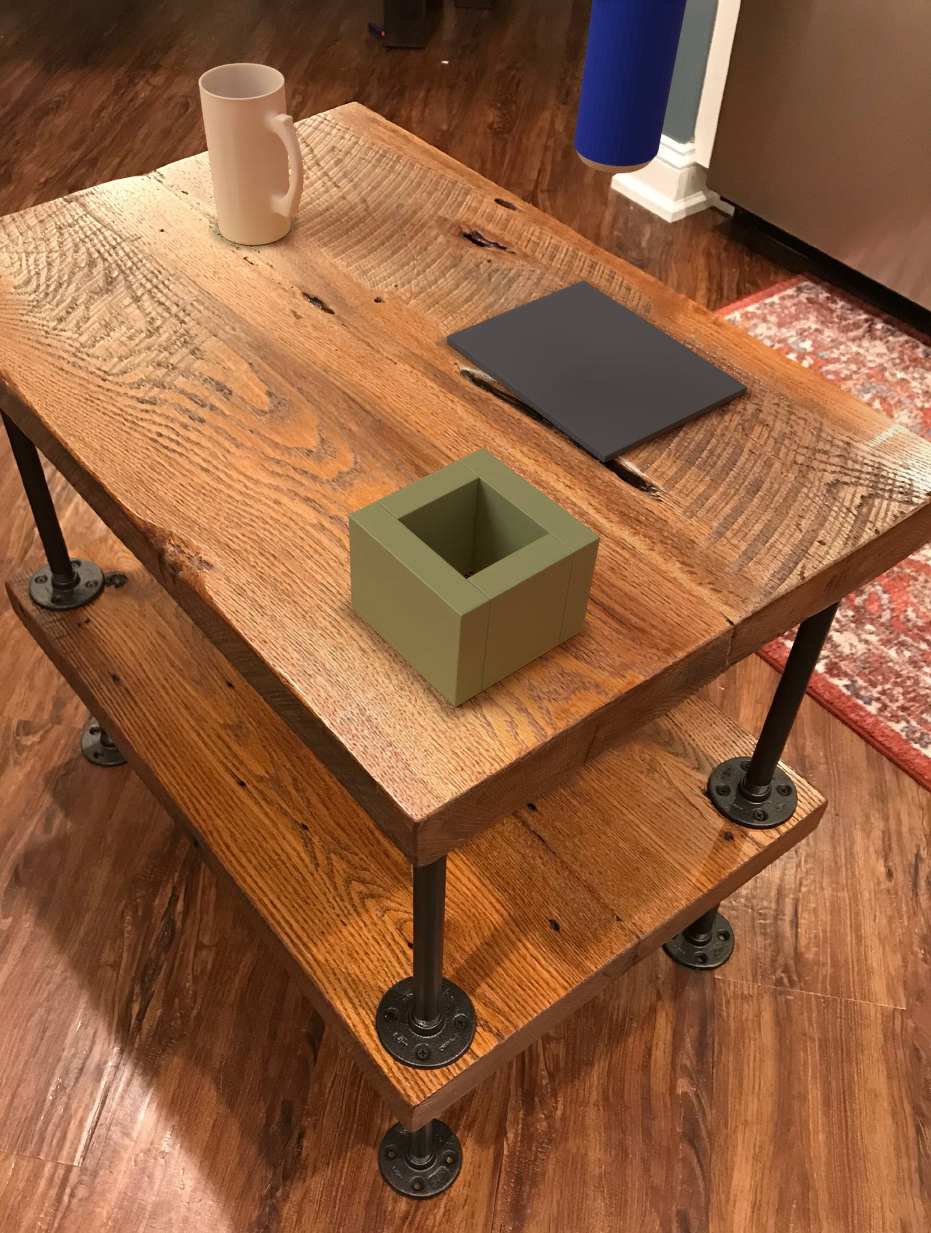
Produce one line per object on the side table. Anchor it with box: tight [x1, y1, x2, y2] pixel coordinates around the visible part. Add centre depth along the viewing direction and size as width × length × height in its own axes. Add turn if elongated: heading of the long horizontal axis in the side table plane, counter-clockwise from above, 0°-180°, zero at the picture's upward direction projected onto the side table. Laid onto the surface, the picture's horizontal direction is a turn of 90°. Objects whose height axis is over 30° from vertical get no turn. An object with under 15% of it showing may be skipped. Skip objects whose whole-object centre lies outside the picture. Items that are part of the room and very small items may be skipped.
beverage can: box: [573, 0, 688, 174], centre depth 65 cm, size 5×5×15 cm
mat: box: [446, 279, 748, 464], centre depth 86 cm, size 18×14×1 cm
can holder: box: [348, 447, 601, 708], centre depth 67 cm, size 10×10×8 cm
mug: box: [198, 62, 305, 246], centre depth 94 cm, size 10×7×12 cm, turn 44°
